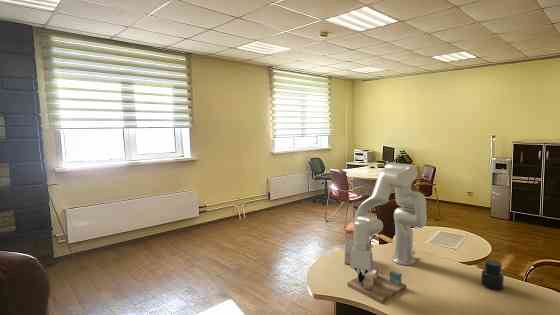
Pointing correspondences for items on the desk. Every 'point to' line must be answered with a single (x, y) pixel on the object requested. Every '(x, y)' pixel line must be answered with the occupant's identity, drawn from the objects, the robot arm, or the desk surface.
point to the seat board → (380, 286)
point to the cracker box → (349, 242)
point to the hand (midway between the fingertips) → (361, 281)
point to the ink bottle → (492, 275)
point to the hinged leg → (370, 278)
